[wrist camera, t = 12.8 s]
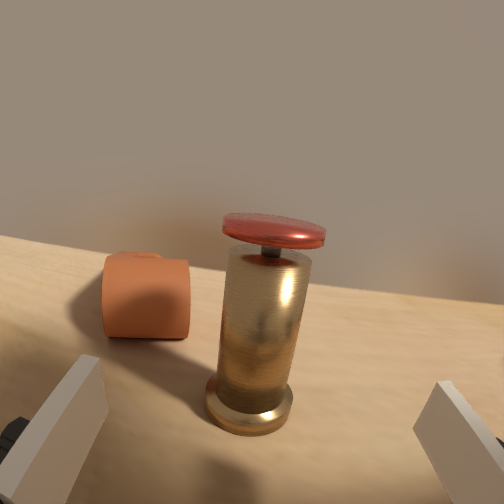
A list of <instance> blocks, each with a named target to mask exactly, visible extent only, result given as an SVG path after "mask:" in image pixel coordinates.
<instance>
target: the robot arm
mask: <svg viewBox="0 0 504 504" xmlns="http://www.w3.org/2000/svg"><path fill="white" fill-rule="evenodd" d="M108 413H109V407H108V402H107V397H106V391H105V386H104V380H103V374H102V367H101V361H100V358H98V357H94V356H90V355H86V354H82V355H81V356H80V357H79V358H78V360H77V361H76V362H75V363H74V365H73V366H72V367H71V368H70V370H69V371H68V372H67V373H66V375H65V376H64V377H63V379H62V380H61V381H60V382H59V384H58V385H57V386H56V388H55V389H54V390H53V392H52V393H51V394H50V395H49V397H48V398H47V399H46V401H45V402H44V403H43V405H42V406H41V407H40V409H39V410H38V412H37V413H36V414H35V416H34V417H33V418H32V420H31V421H29V420H27V419H24V418H22V417H19V418H17V419H16V420H14V421H12V422H11V423H9V424H8V425H7V427H6V428H5V429H4V430H3V432H2V433H1V436H0V504H65V503H66V501H67V499H68V496H69V494H70V492H71V490H72V487H73V485H74V483H75V481H76V479H77V477H78V474H79V472H80V470H81V468H82V466H83V464H84V462H85V460H86V457H87V455H88V453H89V451H90V449H91V447H92V445H93V443H94V441H95V439H96V437H97V435H98V433H99V431H100V429H101V427H102V425H103V423H104V421H105V419H106V417H107V415H108ZM412 429H413V430H414V432H415V434H416V436H417V438H418V439H419V441H420V443H421V445H422V447H423V448H424V450H425V452H426V454H427V456H428V458H429V460H430V461H431V463H432V465H433V467H434V469H435V471H436V473H437V475H438V477H439V479H440V480H441V482H442V484H443V486H444V488H445V490H446V492H447V494H448V496H449V498H450V500H451V502H452V504H504V442H502V441H501V440H500V439H498V438H497V437H496V438H495V436H494V435H493V434H492V432H491V431H490V430H489V429H488V427H487V426H486V425H485V423H484V422H483V421H482V420H481V418H480V417H479V416H478V414H477V413H476V412H475V411H474V409H473V408H472V407H471V406H470V404H469V403H468V402H467V401H466V399H465V398H464V397H463V396H462V394H461V393H460V392H459V391H458V390H457V388H456V387H455V386H454V385H453V383H452V382H451V381H450V380H449V381H440V382H437V383H436V385H435V387H434V389H433V391H432V393H431V395H430V397H429V399H428V401H427V403H426V405H425V407H424V409H423V410H422V412H421V414H420V416H419V418H418V420H417V421H416V423H415V425H414V427H413V428H412Z"/></svg>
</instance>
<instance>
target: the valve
mask: <svg viewBox="0 0 504 504" xmlns="http://www.w3.org/2000/svg"><path fill="white" fill-rule="evenodd" d="M222 231H223V233H224V234H226V235H228V236H230V237H232V238H235V239H238V240H241V241H244V242H248V243H253V244H245V245H237V246H234V247H231V248H230V249H229V251H228V261H227V270H226V280H225V290H224V300H223V310H222V320H221V331H220V342H219V353H218V365H217V373H216V374H214V375H213V376H212V377H211V378H210V379H209V381H208V383H207V385H206V395H205V410H206V413H207V415H208V416H209V418H210V419H211V420H212V421H213V422H214V423H215V424H216V425H217V426H218V427H220V428H222V429H223V430H225V431H228V432H230V433H233V434H236V435H241V436H262V435H266V434H270V433H272V432H274V431H276V430H278V429H279V428H281V427H282V426H283V425H284V424H285V422H286V420H287V418H288V415H289V412H290V408H291V405H292V401H293V394H292V391H291V389H290V387H289V385H288V384H287V381H288V377H289V372H290V368H291V364H292V359H293V355H294V350H295V346H296V341H297V337H298V332H299V327H300V322H301V317H302V313H303V308H304V303H305V298H306V292H307V287H308V282H309V276H310V271H311V265H312V261H311V259H310V258H309V257H307V256H306V255H304V254H302V253H299V252H296V251H293V250H290V249H315V248H320V247H322V246H323V245H324V241H325V235H326V229H324V228H323V227H321V226H319V225H316V224H313V223H310V222H306V221H302V220H298V219H293V218H288V217H282V216H275V215H267V214H257V213H230V214H226V215H224V217H223V227H222Z"/></svg>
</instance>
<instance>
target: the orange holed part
mask: <svg viewBox="0 0 504 504" xmlns="http://www.w3.org/2000/svg"><path fill="white" fill-rule="evenodd" d="M102 317H103V326H104V331H105V334H106V336H107V337H126V338H187V337H188V333H189V325H190V274H189V266H188V261H187V259H165V258H162V257H161V256H160V255H158V254H156V253H146V252H119V253H116V254H113V255H110V256H107V258H106V260H105V264H104V270H103V279H102Z"/></svg>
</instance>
